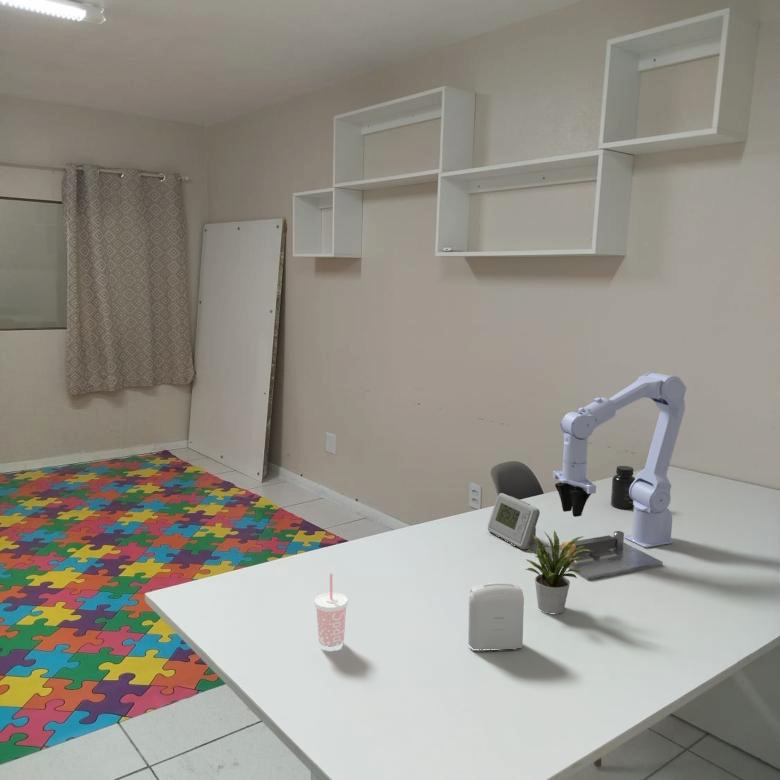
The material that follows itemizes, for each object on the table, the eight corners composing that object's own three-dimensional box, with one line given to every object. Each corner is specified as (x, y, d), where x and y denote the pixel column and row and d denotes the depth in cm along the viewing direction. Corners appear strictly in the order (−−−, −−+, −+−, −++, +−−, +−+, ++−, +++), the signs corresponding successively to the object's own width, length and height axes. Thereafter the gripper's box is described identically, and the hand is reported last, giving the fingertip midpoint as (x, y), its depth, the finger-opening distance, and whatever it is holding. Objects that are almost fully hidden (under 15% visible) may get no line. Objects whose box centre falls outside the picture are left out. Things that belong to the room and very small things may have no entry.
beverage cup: (318, 656, 129) (317, 582, 126) (312, 639, 134) (311, 569, 132) (351, 651, 130) (351, 579, 128) (343, 635, 136) (343, 565, 134)
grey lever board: (611, 540, 186) (612, 521, 186) (662, 565, 170) (663, 545, 169) (541, 552, 178) (542, 533, 177) (588, 580, 162) (589, 559, 161)
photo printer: (470, 653, 130) (472, 590, 128) (465, 641, 134) (467, 580, 132) (525, 651, 131) (528, 588, 129) (518, 639, 135) (521, 578, 133)
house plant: (600, 604, 150) (605, 530, 147) (582, 632, 138) (587, 552, 135) (535, 588, 157) (538, 518, 154) (512, 614, 145) (515, 537, 143)
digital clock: (484, 530, 193) (486, 492, 191) (515, 527, 195) (516, 490, 194) (511, 553, 177) (513, 512, 176) (544, 549, 180) (546, 509, 178)
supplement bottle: (605, 504, 216) (608, 465, 214) (623, 501, 219) (625, 463, 217) (621, 511, 210) (624, 471, 208) (639, 508, 212) (642, 469, 211)
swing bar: (608, 544, 179) (608, 534, 178) (615, 548, 176) (615, 538, 176) (561, 552, 173) (562, 542, 173) (568, 556, 171) (568, 546, 170)
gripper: (544, 455, 181) (541, 506, 184) (580, 469, 168) (577, 524, 170) (566, 452, 184) (564, 503, 186) (604, 466, 171) (600, 521, 173)
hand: (572, 513), depth 179 cm, fingers open, 3 cm apart
